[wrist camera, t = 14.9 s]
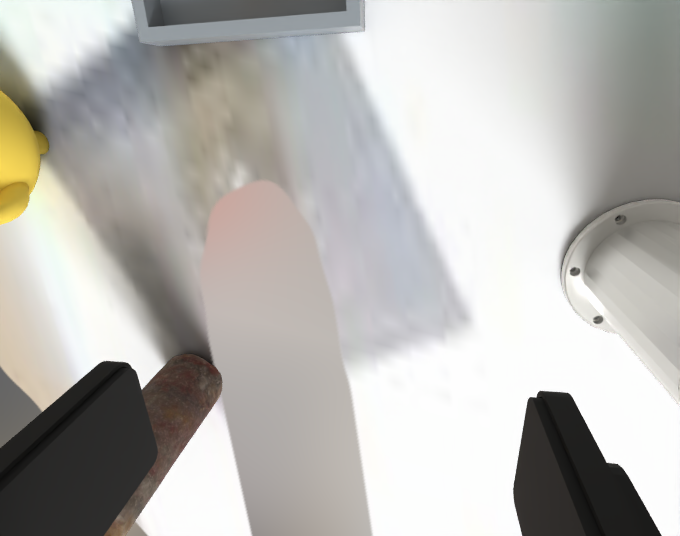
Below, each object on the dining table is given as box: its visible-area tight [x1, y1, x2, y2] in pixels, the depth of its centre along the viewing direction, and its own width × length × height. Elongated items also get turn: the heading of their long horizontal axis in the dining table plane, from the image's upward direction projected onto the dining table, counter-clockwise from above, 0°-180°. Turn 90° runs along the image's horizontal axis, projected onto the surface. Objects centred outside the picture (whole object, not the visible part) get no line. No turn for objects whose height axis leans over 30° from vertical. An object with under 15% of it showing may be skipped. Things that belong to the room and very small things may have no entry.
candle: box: [104, 354, 222, 536], centre depth 41 cm, size 8×7×20 cm
